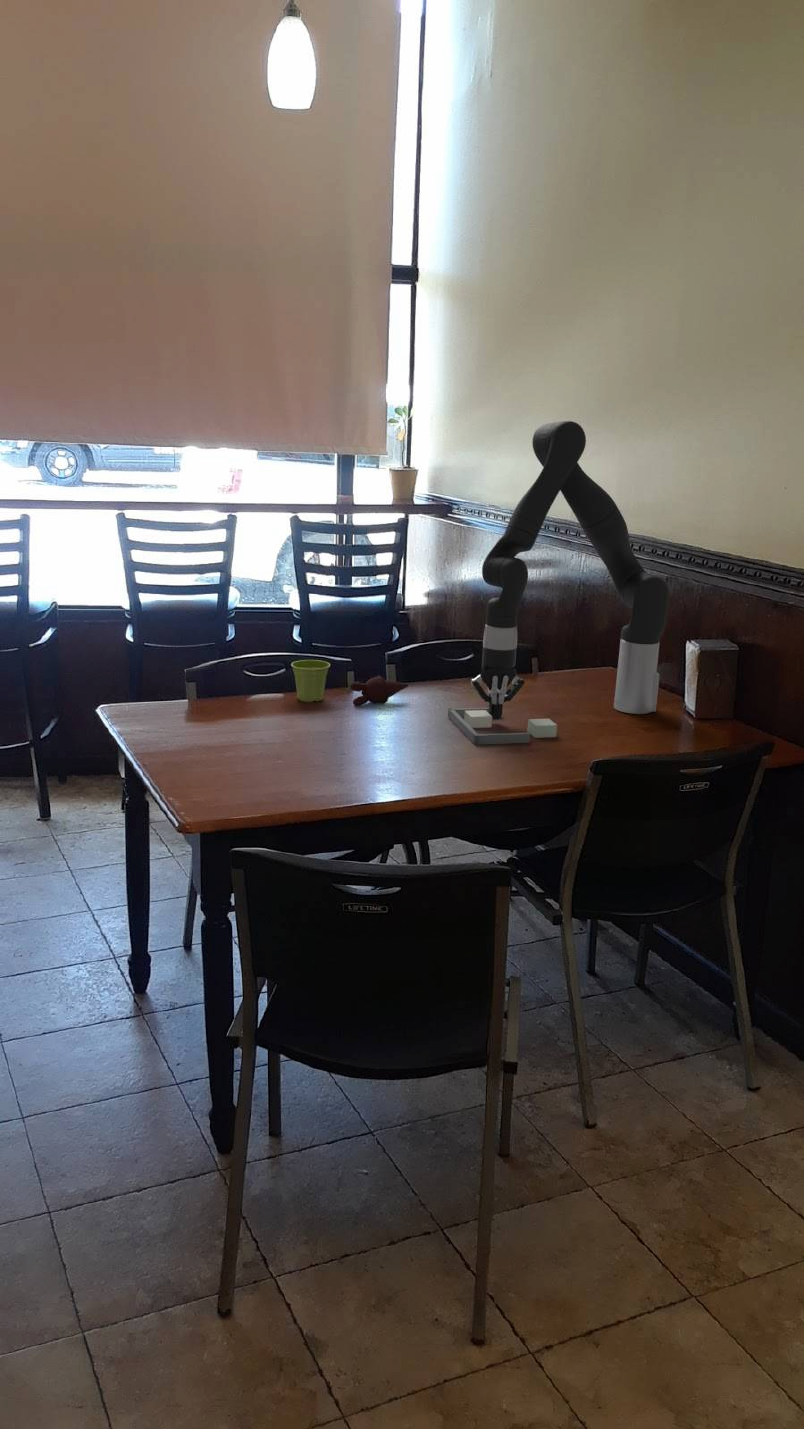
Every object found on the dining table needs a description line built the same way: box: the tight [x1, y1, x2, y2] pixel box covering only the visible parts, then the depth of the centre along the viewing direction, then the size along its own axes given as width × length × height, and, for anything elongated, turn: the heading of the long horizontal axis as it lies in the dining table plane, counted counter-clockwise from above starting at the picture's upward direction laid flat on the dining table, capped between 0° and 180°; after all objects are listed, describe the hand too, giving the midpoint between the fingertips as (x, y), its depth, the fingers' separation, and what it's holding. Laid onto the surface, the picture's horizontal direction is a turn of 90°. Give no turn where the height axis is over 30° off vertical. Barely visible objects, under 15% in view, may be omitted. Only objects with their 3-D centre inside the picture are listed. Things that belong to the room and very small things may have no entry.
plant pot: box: [290, 659, 331, 703], centre depth 268 cm, size 9×9×9 cm
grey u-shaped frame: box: [447, 707, 531, 746], centre depth 251 cm, size 12×21×2 cm, turn 14°
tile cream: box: [463, 710, 493, 729], centre depth 254 cm, size 5×5×3 cm
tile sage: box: [526, 718, 558, 739], centre depth 249 cm, size 5×5×3 cm
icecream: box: [349, 674, 409, 707], centre depth 268 cm, size 7×7×15 cm
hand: (494, 718), depth 256 cm, fingers closed
